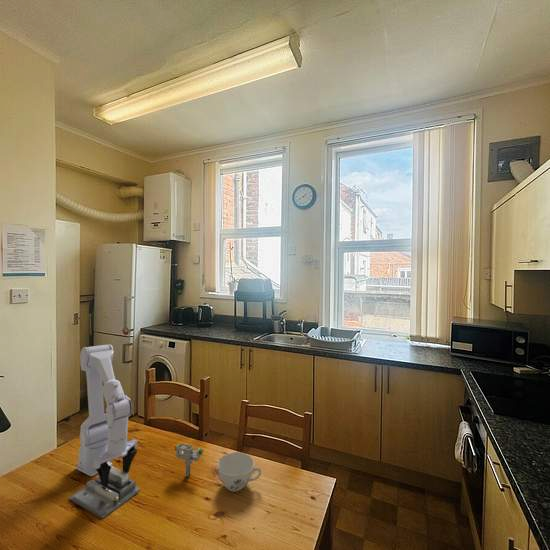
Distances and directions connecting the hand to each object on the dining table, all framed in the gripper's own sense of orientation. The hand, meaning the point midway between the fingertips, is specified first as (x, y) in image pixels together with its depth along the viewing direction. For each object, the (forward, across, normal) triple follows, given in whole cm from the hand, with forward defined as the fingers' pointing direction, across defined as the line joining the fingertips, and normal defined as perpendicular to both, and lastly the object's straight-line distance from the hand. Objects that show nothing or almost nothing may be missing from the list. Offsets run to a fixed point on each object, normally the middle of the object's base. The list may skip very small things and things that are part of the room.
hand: (115, 478), depth 97 cm
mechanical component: (+4, +17, -16) cm, 23 cm away
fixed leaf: (+3, -3, 0) cm, 5 cm away
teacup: (+4, +21, -35) cm, 41 cm away
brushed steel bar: (+3, 0, 0) cm, 3 cm away
